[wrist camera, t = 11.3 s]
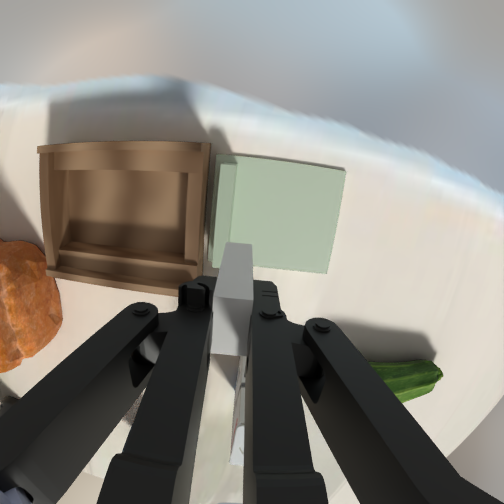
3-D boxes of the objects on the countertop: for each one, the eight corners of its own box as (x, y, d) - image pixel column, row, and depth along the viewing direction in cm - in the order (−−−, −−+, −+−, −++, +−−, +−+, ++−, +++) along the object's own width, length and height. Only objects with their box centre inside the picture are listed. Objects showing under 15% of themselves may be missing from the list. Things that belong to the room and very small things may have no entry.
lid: (208, 258, 30) (202, 273, 26) (217, 153, 26) (211, 154, 23) (325, 270, 30) (333, 287, 27) (343, 170, 27) (356, 174, 23)
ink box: (270, 395, 36) (274, 469, 25) (233, 391, 36) (227, 466, 25) (283, 347, 33) (293, 427, 22) (241, 342, 33) (236, 423, 22)
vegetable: (323, 413, 26) (465, 394, 27) (320, 352, 31) (453, 346, 32) (305, 425, 32) (434, 410, 32) (304, 373, 37) (426, 367, 37)
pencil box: (70, 258, 30) (46, 275, 25) (65, 143, 25) (37, 146, 20) (202, 274, 30) (193, 298, 25) (211, 143, 26) (201, 142, 21)
